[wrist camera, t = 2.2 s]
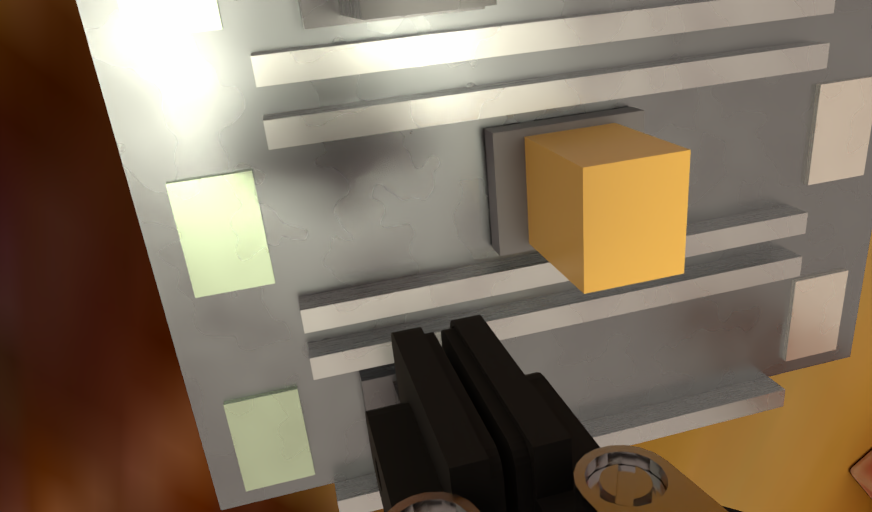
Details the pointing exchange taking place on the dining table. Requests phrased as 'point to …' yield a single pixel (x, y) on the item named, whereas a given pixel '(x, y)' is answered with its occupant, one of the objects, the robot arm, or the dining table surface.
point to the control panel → (864, 473)
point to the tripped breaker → (590, 197)
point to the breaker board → (477, 206)
